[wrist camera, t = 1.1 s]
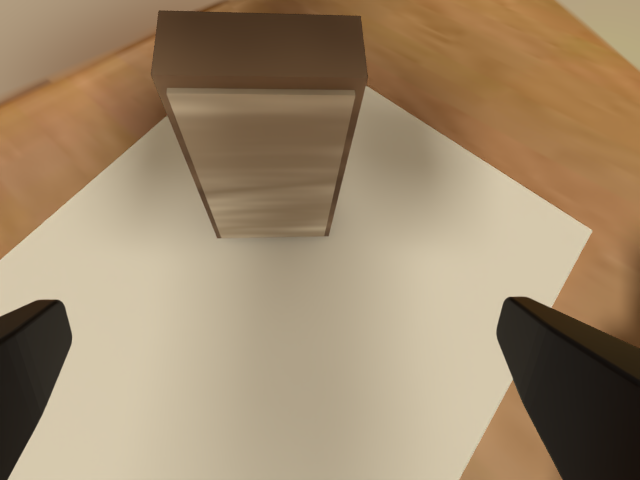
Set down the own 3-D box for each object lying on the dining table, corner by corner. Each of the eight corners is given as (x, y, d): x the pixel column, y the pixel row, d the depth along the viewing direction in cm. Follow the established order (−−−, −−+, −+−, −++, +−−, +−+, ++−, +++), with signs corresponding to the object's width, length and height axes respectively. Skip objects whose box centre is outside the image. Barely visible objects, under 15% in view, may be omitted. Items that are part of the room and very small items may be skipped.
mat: (291, 782, 16) (291, 792, 15) (-117, 368, 20) (-124, 367, 19) (587, 233, 25) (592, 230, 25) (271, 29, 29) (271, 24, 29)
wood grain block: (328, 239, 23) (368, 83, 12) (217, 241, 23) (150, 80, 11) (326, 197, 24) (360, 15, 13) (218, 198, 24) (158, 10, 12)
